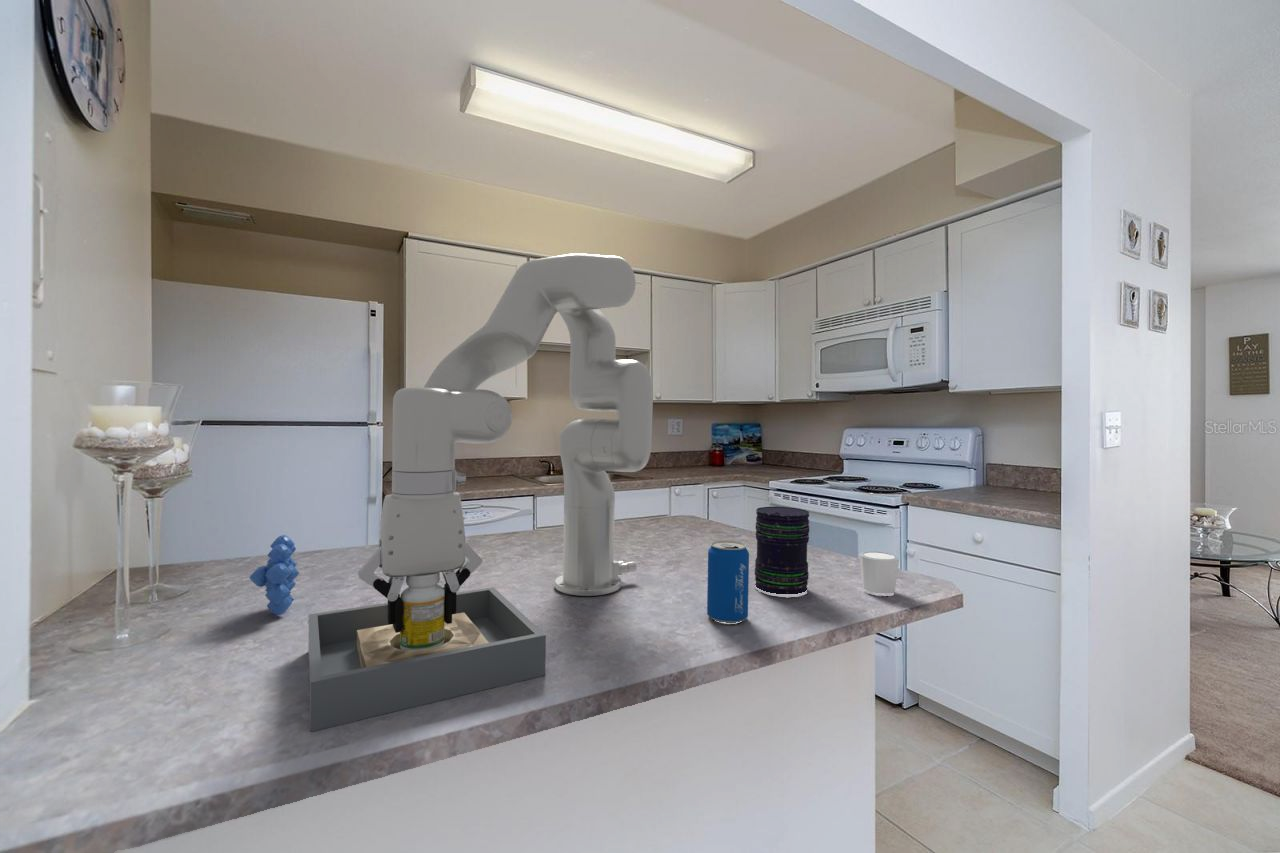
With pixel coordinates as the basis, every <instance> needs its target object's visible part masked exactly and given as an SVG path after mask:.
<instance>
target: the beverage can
mask: <svg viewBox="0 0 1280 853" xmlns="http://www.w3.org/2000/svg"><path fill="white" fill-rule="evenodd" d="M707 551H708V552H707V591H706V592H707V593H706V594H707V595H706V597H707V601H706V602H707V603H706V614H707V616H708V617H709V618H711V620H712V619H714V620H716V621H719V622H726V623H736V622H740V621H745V620H746V619H748V617H749V616H748V615H749V583H750V581H749V578H750V577H749V574H750V573H749V572H750V565H749V564H750V553H749V551H748V549H747V544H746V543H743V542H740V541H735V540H717V541H712V542H711V543H710V547H709V549H708V550H707Z"/></svg>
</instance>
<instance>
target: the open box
mask: <svg viewBox="0 0 1280 853" xmlns="http://www.w3.org/2000/svg"><path fill="white" fill-rule="evenodd" d="M463 612H464V613H465V614H466V615H467V617H468V618H469V619H470V620H471V621H472V623H473V624H474V625H475V626H476V627H477V628H478V630H479V631H480V632H481V634H482V635H483V636H484V638H485V639H486V640H487V641H488V642H489V643H486V644H481V645H476V646H471V647H466V648H461V649H456V650H451V651H446V652H441V653H436V654H431V655H426V656H421V657H416V658H411V659H406V660H401V661H396V662H390V663H385V664H380V665H375V666H370V667H365V668H361V666H360V659H359V655H358V651H357V630H361V629H367V628H373V627H379V626H385V625H388V602H385V603H376V604H369V605H365V606H357V607H350V608H344V609H337V610H336V609H335V610H329V611H323V612H315V613H310V614H309V613H308V652H307V653H308V681H309V683H308V684H309V686H308V687H309V719H310V720H309V721H310V724H309V725H310V732H315V731H320V730H323V729H327V728H332V727H337V726H339V725H340V726H341V725H344V724H349V723H353V722H358V721H361V720H365V719H368V718H373V717H378V716H382V715H385V714H389V713H394V712H398V711H403V710H407V709H410V708H411V709H412V708H414V707H419V706H424V705H427V704H432V703H435V702H439V701H444V700H448V699H451V698H457V697H461V696H464V695H469V694H472V693H477V692H481V691H485V690H489V689H493V688H497V687H502V686H506V685H509V684H514V683H519V682H523V681H526V680H527V681H528V680H530V679H536V678H539V677H544V676H546V652H547V651H546V649H547V646H546V644H547V641H546V640H547V638H546V637H547V635H546V634H545V632H543V631H542V630H541V629H540V628H539V627H537V625H535V624H534V623H533V622H532V621H531V620H530V619H529V618H528V617H527V616H525V614H524V613H523V612H521V611H520V609H518V608H516V606H514V604H512V602H511V601H510V600H508V599H507V598H506V597H505V596H504V595H503V594H502V593H501V592H500V591H498V590H497V589H496V588H495V587H486V588H479V589H474V590H467V591H460V592H459V591H457V592H456V614H457V613H463ZM543 675H544V676H543Z"/></svg>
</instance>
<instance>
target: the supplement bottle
mask: <svg viewBox="0 0 1280 853" xmlns="http://www.w3.org/2000/svg"><path fill="white" fill-rule="evenodd" d="M440 573H441V572H439V573H431V574H423V575H415V576H406V577H405V578H406V579H405V583H406V585H407V587H406V588H404V589H403V590H402V592H401V593H400V598H401V600H402V631H400V648H401V650H424V649H429V648H434V647H438V646H440V645H442V644H443V643H444V617H445V591H444V589H443V586H441V585H440V584H439V583H440V581H441V577H440V575H441V574H440Z"/></svg>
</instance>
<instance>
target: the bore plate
mask: <svg viewBox="0 0 1280 853" xmlns="http://www.w3.org/2000/svg"><path fill="white" fill-rule="evenodd" d="M486 643H489V642H488V641H487V640H486V639H485V638H484V636H483V635H482V634H481V632H480V631H479V630H478V628H477V627H476V626H475V625H474V624H473V623H472V621H471V620H470V619H469V618H468V617H467V615H466V614H465V613H464V612H463V613H457V614H452V623H450V624H447V623H445V621H444V643H443V644H442V645H440V646H438V647H434V648H429V649H424V650H401V648H400V632H398V633H396V632H395V630H394V628H393V624H391V625H385V626H379V627H373V628H367V629H361V630H357V651H358V655H359V659H360V666H361V668H365V667H370V666H375V665H380V664H385V663H390V662H396V661H401V660H406V659H411V658H416V657H421V656H426V655H431V654H436V653H441V652H446V651H451V650H456V649H461V648H466V647H471V646H476V645H481V644H486Z"/></svg>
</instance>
